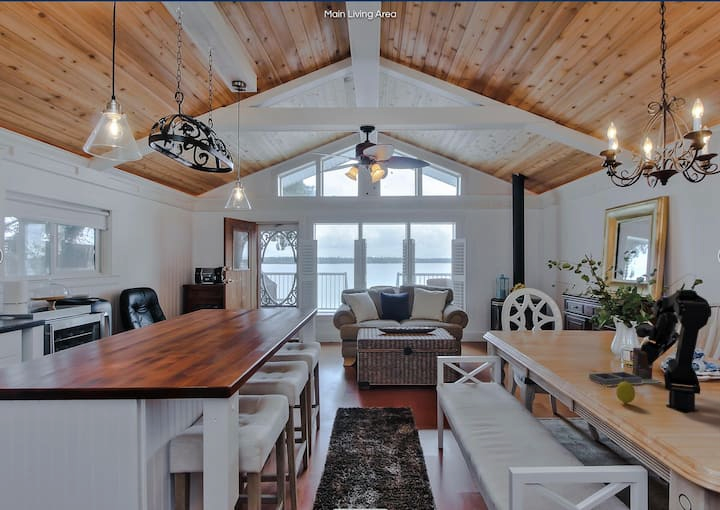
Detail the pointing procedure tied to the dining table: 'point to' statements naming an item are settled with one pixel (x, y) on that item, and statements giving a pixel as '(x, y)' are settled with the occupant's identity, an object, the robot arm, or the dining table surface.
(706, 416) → the dining table surface
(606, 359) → the dining table surface
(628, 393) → the lemon
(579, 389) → the dining table surface
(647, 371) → the box
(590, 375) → the tray
